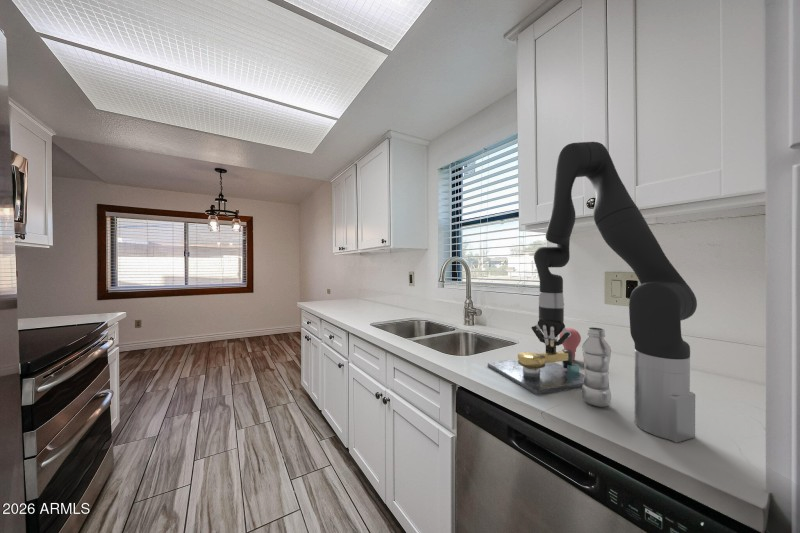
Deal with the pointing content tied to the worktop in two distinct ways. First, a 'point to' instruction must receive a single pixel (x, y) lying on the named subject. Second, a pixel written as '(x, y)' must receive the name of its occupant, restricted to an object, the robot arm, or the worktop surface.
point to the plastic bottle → (596, 368)
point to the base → (541, 376)
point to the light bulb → (571, 341)
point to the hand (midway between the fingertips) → (550, 356)
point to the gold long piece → (545, 358)
